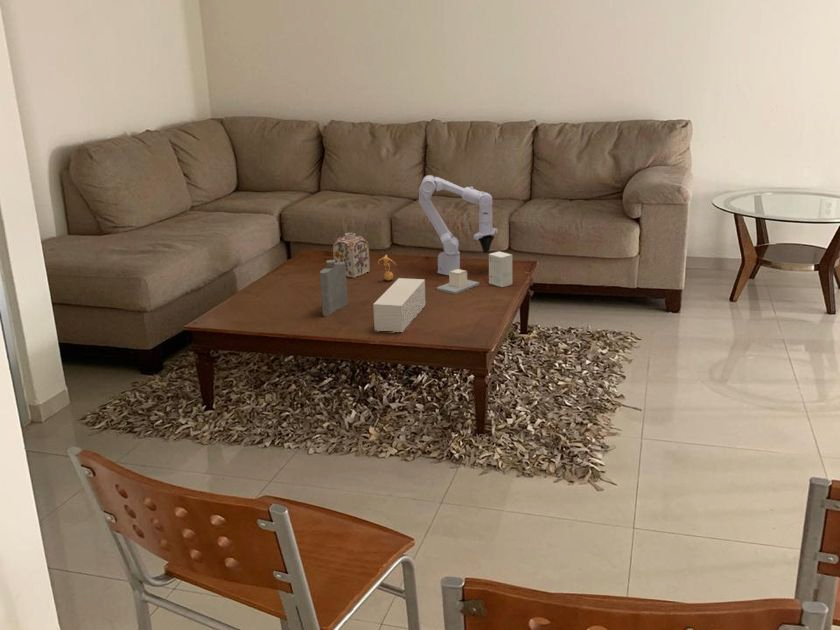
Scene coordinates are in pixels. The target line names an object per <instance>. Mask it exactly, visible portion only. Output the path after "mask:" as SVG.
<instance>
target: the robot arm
mask: <svg viewBox="0 0 840 630" xmlns="http://www.w3.org/2000/svg"><path fill="white" fill-rule="evenodd" d="M435 190H436V192H439V191H443V190H444V191H448V192H450V193H453V194H456V195H459V196H461V198H462V200H464V201H465V202H469V203H472V204H474V205H478V206H479V212H478V226H479V227H478V232H476V233H475V234H473V240H478V241H479V242H480V245H481V249H482V253H485V254H487V253H488V254H489V252H490V249H491V244H492V243H493V240H494V238H495V236H494V235H495V234H498V233H499V229H498V228H496V227H493V196H492V195H491V194H490V193H488V191H487V192H486V191H485V192H484V191H483V190H482V191H480V190H477V189H475V188H474V187H473V186H466V187H462V186H459V185H457V184H455V183H453V182H451V181H448V180H446V179H444V178H441V177H439V176H434V175H432V174H429V175H425V176H424V177H423V178H422V180H421V183H420V186H419V188H418V204H419V206H420V207H421V208H422V210H423V212H424V213H425V215H426V217H427V218H428V220H429V222H430V223H431V225H432V227H433V228H434V230H435V232H436V234H437V235H438V236H439V238H440V242H441V244H442V246H443V251H442V252H440V253H439V254H438V256H437V271H436V273H437V274H441V275H445V276H449V272H450V271H452V270H455V269H461V252H460V251H459V246H460V241H459V239H458V238H457V237H456V236H454V234H453V233H452V231H450V230H449V228H448V227H447V225H446V222H444V220H443V218H442V216H441V215H440V213H439V212H438V210H437V208H436V206H435V205H434V203H433V202H432V200H431V199H432V195H433V193H434V192H435Z"/></svg>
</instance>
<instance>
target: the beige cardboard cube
mask: <svg viewBox="0 0 840 630" xmlns="http://www.w3.org/2000/svg"><path fill="white" fill-rule="evenodd" d="M448 276H449V277H448V278H449V279H448V281H449V282H448V283H450V286H454V287H459V288H460V287H462V286H465V285H467V280H468V271H467V270H464V269H461V268H460V269H455V270H452V271H450V272H449V275H448Z"/></svg>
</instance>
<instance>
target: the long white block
mask: <svg viewBox="0 0 840 630" xmlns="http://www.w3.org/2000/svg"><path fill="white" fill-rule="evenodd" d="M372 305H373V306H372V307H373V323H374V325H373V326H374V331H375V330H377V331H376V332H379V331H393V332H392V333H394V332H403V331H404V330H405V328H406V327H407V326H408V325H409V324H410V325H411V323H412V322H413V321H414V320H415V319H416V317H417V316H418V315H419V314H420V312H421V311H422V310H423V309H422V308H424V307H426V305H427V304H426V279H423V278H419V279H418V278H402V277H398V278H397V279H396V280H395V281H394V282H393V283H392V284H391V286H390V287H388V288H387V289H386V290H385V292H383V294H382V295H381V296H380V297H379V298H377V300H376V301H375V302H374V303H373V304H372ZM418 313H419V314H418ZM417 314H418V315H417ZM414 318H415V319H414ZM413 319H414V320H413ZM412 320H413V321H412ZM411 321H412V322H411ZM410 322H411V323H410ZM410 325H409V326H410ZM409 326H408V327H409ZM408 327H407V328H408ZM407 328H406V329H407ZM405 331H406V330H405ZM405 331H404V332H405ZM404 332H403V333H404Z"/></svg>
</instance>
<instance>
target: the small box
mask: <svg viewBox="0 0 840 630" xmlns="http://www.w3.org/2000/svg"><path fill="white" fill-rule="evenodd" d="M488 284H490V285H492V286H493V285H494V286H496V287H499V288H504V287H508V286H511V285H513V254H511V253H507V252H504V251H503V252H502V251H501V250H500V251H495V252H491V253H488Z"/></svg>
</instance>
